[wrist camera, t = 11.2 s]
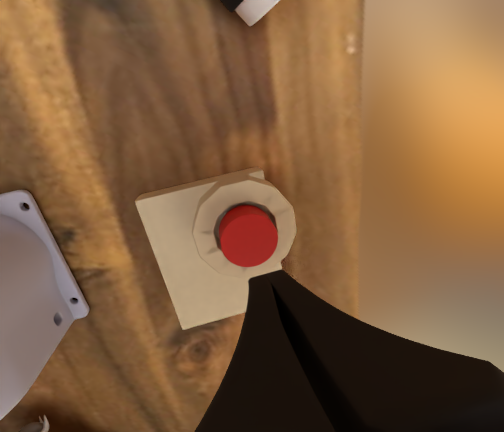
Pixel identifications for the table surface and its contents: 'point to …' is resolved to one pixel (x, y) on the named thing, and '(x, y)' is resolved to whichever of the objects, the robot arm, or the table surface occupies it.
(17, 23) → the table surface
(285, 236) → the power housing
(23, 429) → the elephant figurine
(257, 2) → the dixie cup
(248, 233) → the power button
